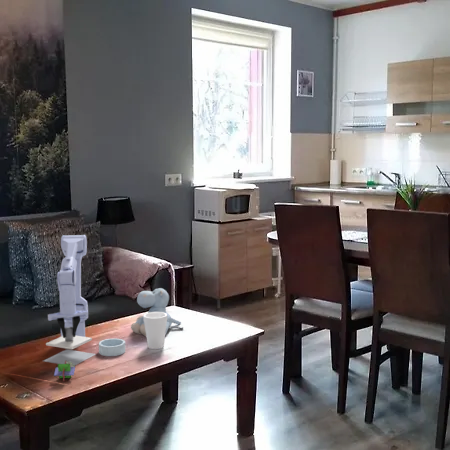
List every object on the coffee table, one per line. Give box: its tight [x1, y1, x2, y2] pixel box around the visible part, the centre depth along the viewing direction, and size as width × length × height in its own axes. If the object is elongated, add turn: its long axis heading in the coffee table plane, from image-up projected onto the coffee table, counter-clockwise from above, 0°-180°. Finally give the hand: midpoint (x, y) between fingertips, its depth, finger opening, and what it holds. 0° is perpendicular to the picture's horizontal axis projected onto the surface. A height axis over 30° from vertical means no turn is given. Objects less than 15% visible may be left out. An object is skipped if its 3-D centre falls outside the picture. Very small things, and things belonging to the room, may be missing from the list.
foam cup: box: [142, 311, 167, 350], centre depth 242 cm, size 10×9×13 cm
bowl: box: [98, 337, 126, 357], centre depth 236 cm, size 10×10×4 cm
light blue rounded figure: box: [130, 287, 184, 337], centre depth 262 cm, size 18×23×18 cm
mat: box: [43, 348, 97, 367], centre depth 230 cm, size 14×14×1 cm
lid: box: [45, 327, 93, 350], centre depth 229 cm, size 12×12×6 cm
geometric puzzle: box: [53, 360, 76, 383], centre depth 208 cm, size 7×7×8 cm
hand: (69, 336), depth 229 cm, fingers closed on lid, 3 cm apart
